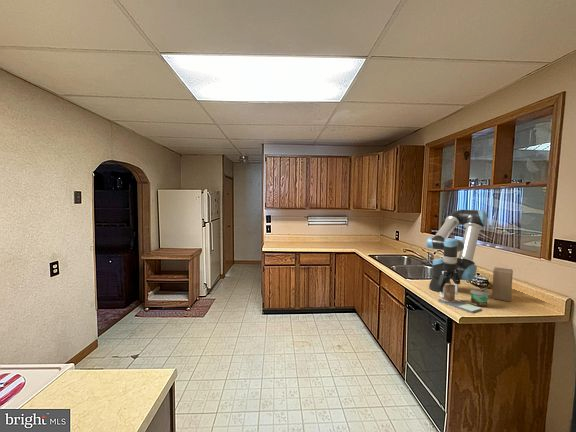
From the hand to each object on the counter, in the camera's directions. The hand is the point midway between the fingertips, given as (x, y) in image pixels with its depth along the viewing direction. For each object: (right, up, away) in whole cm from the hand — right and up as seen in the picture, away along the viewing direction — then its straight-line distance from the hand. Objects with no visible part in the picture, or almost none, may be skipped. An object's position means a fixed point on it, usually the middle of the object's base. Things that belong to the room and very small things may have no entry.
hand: (448, 295), depth 180 cm
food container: (+17, -5, -6) cm, 19 cm away
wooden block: (+40, -5, +8) cm, 41 cm away
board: (+3, -5, -6) cm, 8 cm away
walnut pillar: (0, -3, 0) cm, 3 cm away
